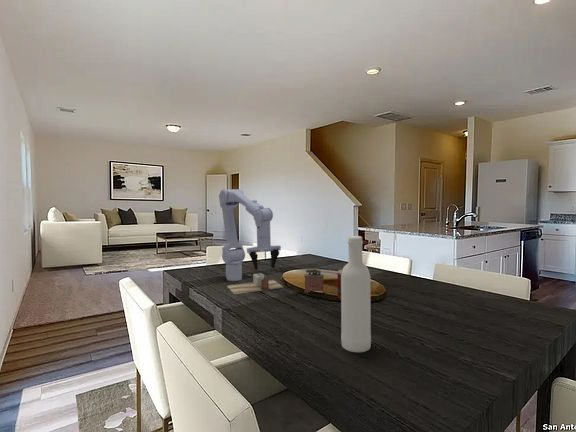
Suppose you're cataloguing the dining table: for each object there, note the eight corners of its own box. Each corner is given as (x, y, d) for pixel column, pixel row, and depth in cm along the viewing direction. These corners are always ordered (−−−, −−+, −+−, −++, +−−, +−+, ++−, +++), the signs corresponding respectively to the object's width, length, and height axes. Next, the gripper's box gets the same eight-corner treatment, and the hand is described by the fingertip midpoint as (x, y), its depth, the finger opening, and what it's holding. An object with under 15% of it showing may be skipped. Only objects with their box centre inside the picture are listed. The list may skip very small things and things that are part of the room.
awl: (260, 287, 143) (260, 274, 143) (266, 287, 144) (266, 274, 144) (262, 289, 140) (262, 276, 140) (269, 288, 142) (269, 275, 141)
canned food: (334, 300, 129) (334, 272, 128) (341, 294, 136) (341, 268, 135) (354, 303, 125) (354, 274, 124) (360, 297, 132) (359, 269, 131)
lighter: (323, 291, 141) (323, 268, 140) (323, 293, 137) (323, 270, 136) (304, 291, 141) (304, 268, 141) (304, 293, 138) (304, 269, 137)
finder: (253, 282, 151) (253, 273, 151) (261, 281, 153) (261, 272, 152) (257, 286, 146) (257, 276, 145) (266, 285, 147) (265, 275, 147)
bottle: (376, 345, 91) (376, 236, 89) (361, 356, 85) (361, 239, 83) (350, 337, 96) (350, 234, 94) (335, 346, 90) (334, 237, 88)
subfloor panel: (226, 288, 148) (226, 285, 148) (272, 282, 157) (272, 279, 156) (234, 297, 135) (234, 294, 135) (284, 289, 144) (284, 287, 144)
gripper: (249, 239, 134) (250, 272, 135) (283, 236, 140) (283, 268, 141) (245, 237, 141) (246, 268, 142) (277, 234, 146) (277, 265, 147)
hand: (264, 268), depth 142 cm, fingers open, 7 cm apart
